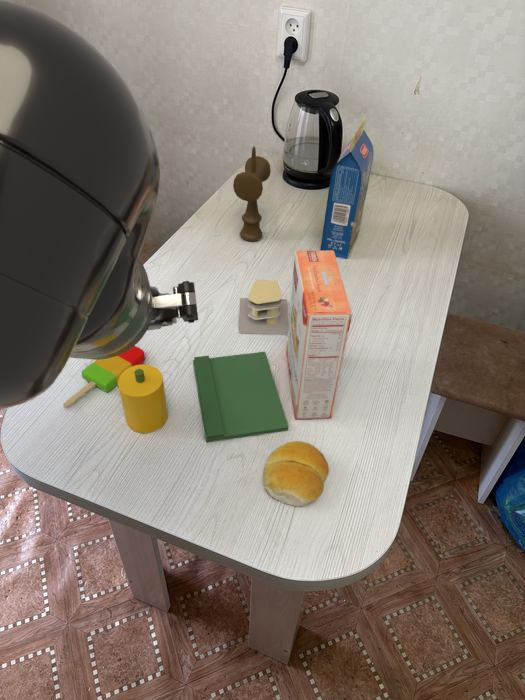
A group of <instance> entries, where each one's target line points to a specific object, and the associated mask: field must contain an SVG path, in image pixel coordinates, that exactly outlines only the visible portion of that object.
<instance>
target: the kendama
mask: <svg viewBox="0 0 525 700" xmlns="http://www.w3.org/2000/svg"><path fill="white" fill-rule="evenodd" d="M256 152H257V150H256V147H255V146H252V149H251V157H248V158H247V160H246V162H245V165H244V171H242V172H240V173H237V174H236V176H235V177H234V180H233V183H232V188H233V192H234V194H235V195H236V197H237V198H239V199H240V200H242V201H244V202H247V203H246V209H245V212H244V214H242V216H241V220H242V222H243V226H242V229H241V230H240V232H239V237H240V238H241V239H242V240H245V241H248V242H256V241H257V242H258V241H259V240H260V239H262V238H263V235H264V234H263V231H262V228H261V225H260V223H261V221H262V220H263V219H262V218H263V216H262V214H261V213H260V212H259V205H258V200H259V199H260V197H261V196H262V194H263V190H264V186H263V182H266V181H268V179H269V178H270V176H271V172H272V170H271V165H270V162H269V160H267V159H266V158H265V157H262V156H259V155H257V153H256Z"/></svg>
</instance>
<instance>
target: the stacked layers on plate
mask: <svg viewBox="0 0 525 700" xmlns="http://www.w3.org/2000/svg"><path fill="white" fill-rule="evenodd" d="M288 307H289V306H288V299H287V298H283V293H282V289H281V286H280V283H279V280H278V279H255V280H254V283H253V285H252V286H251V288H250V290H249V292H248V294H247V297H240V298H239V309H238V310H239V311H238V315H239V316H238V334H249V335H250V334H253V335H254V334H256V335H288V329H289V308H288Z"/></svg>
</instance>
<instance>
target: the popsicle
mask: <svg viewBox="0 0 525 700" xmlns="http://www.w3.org/2000/svg"><path fill="white" fill-rule="evenodd" d="M145 353H146V352H145V351H144V350H143V349H142V348H141V347H138V346H137V345H135V346H134V347H132V348H131V349H130V350H128V351H126V352H124V353H123V354H120V355H118V356H115V357H112V358H107V359H94V361H93V362H91V363H90V364H89V365H87V366H86V367H85V368H83V369H82V370H81V376H82V379H84V380H85V381H86V382H88V383H87V384H85V385H84V386H83V387H82V388H81V389H79V390H78V391H77V392H76V393H74V394H73V395H72V396H71V397H70V398H68V399H67V400H66V401H64V402H63V404H62V406H63V408H66V409H67V408H69V407H71V406H72V405H74V404H75V403H76V402H77V401H78V400H80V399H81V398H82V397H83V396H85V394H87V393H88V392H90V391H91V390H92V389H93V388H94V387H97V388H99V389H101V390H102V391H104V392H105V393H107V394H108V393H109V392H110V391H112V390H113V389H115V387H117V386H118V379H119V377H120V375H121V374H122V373H123V372H124V371H125V370H126V369H128V368H130V367H132V366H135V365H142V364H144V362H145V360H146V354H145Z"/></svg>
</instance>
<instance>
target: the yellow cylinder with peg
mask: <svg viewBox="0 0 525 700" xmlns="http://www.w3.org/2000/svg"><path fill="white" fill-rule="evenodd" d="M117 386H118V391H119V395H120V400H121V404H122V409H123V412H124V417H125V422H126V425H127V426H128V428H129V429H130V430H132V431H134V432H135V433H140V434H150V433H153V432H157V431H158V430H160V429H161V428H162V427H164V425H165V424H166V423H167V421H168V418H169V411H168V405H167V399H166V398H167V397H166V391H165V384H164V377H163V374H162V372H161V371H160V369H158V368H157V367H155V366H154V365H150V364H144V363H142V364H141V365H135V366H132V367H130V368H128V369H126V370H125V371H124V372H123V373H122V374H121V375H120V377H119V379H118V384H117Z"/></svg>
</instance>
